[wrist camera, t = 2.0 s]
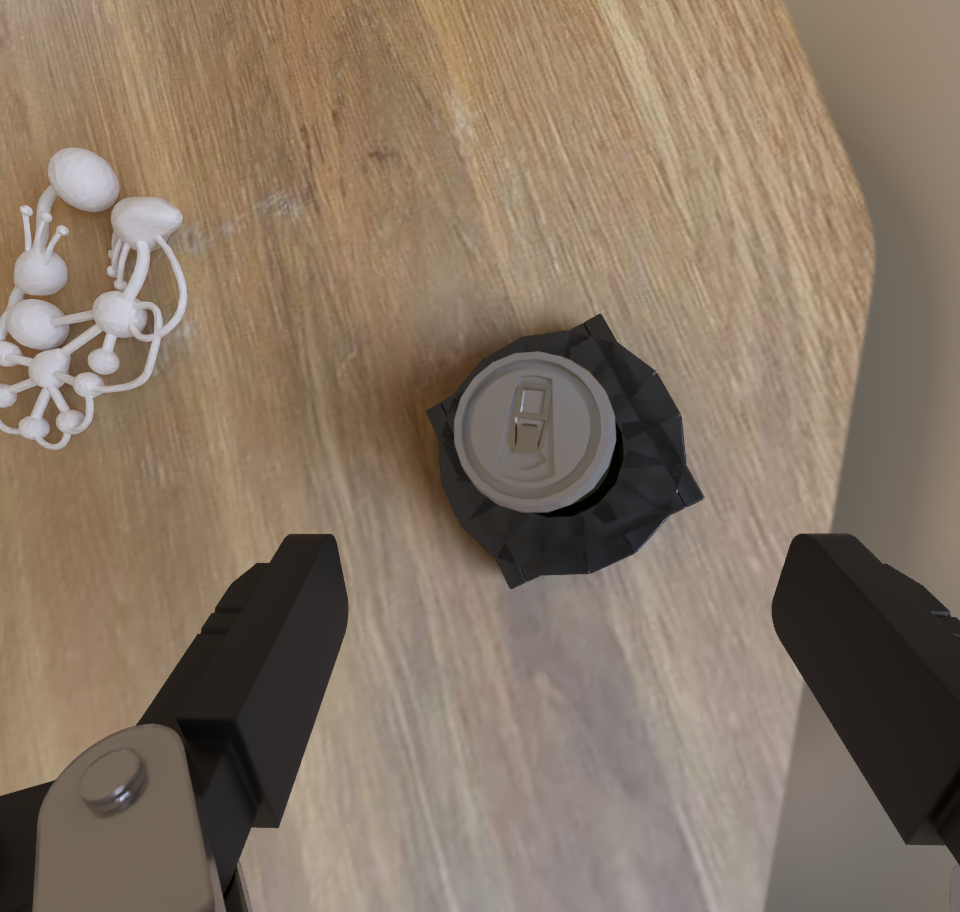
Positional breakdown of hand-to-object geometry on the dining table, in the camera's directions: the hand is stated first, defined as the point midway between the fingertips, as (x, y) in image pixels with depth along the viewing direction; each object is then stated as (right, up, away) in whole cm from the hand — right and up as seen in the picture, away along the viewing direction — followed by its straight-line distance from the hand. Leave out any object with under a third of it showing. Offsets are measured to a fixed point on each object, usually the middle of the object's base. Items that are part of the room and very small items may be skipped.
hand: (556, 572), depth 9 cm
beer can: (+3, +2, +19) cm, 19 cm away
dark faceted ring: (+3, +2, +19) cm, 19 cm away
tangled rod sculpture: (-27, +12, +27) cm, 40 cm away
